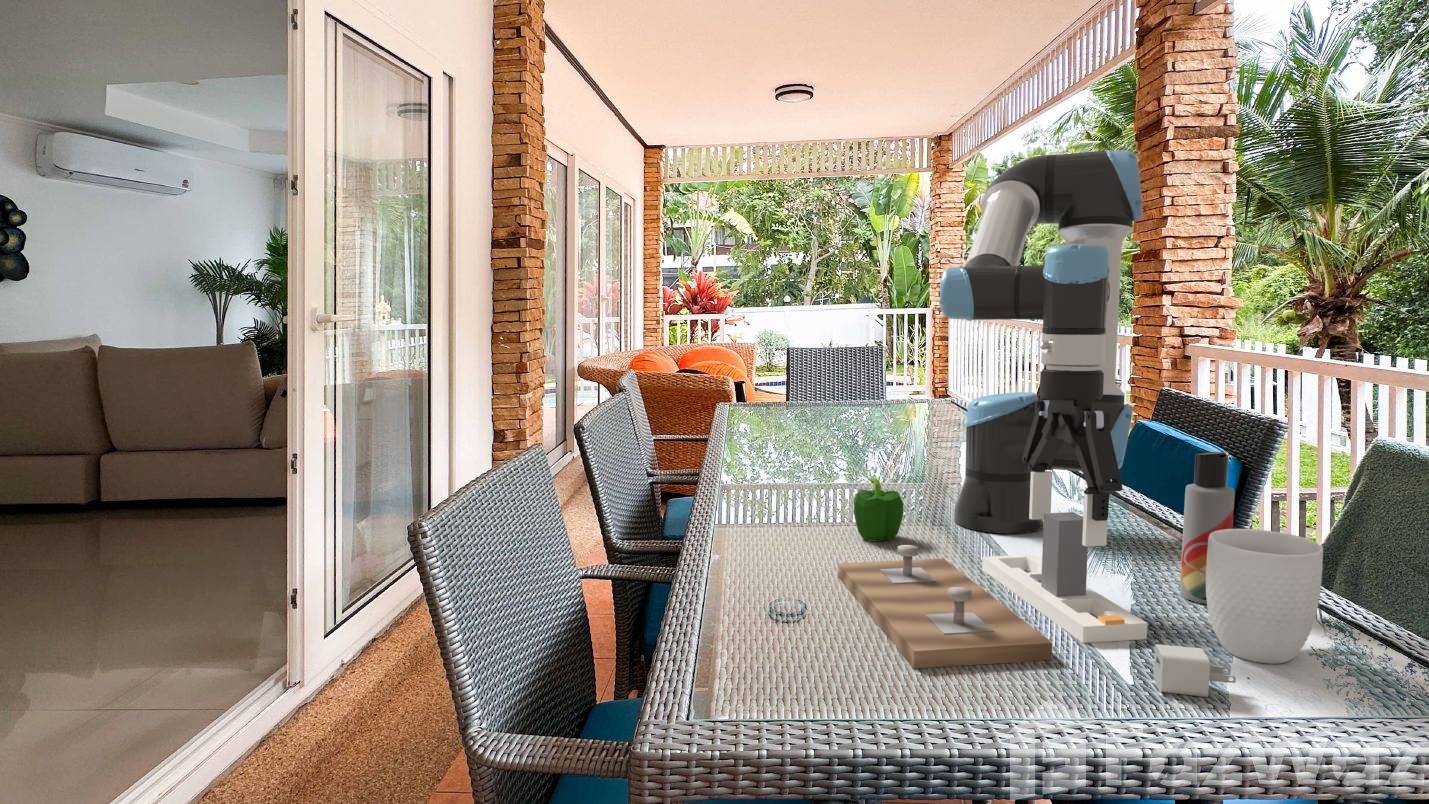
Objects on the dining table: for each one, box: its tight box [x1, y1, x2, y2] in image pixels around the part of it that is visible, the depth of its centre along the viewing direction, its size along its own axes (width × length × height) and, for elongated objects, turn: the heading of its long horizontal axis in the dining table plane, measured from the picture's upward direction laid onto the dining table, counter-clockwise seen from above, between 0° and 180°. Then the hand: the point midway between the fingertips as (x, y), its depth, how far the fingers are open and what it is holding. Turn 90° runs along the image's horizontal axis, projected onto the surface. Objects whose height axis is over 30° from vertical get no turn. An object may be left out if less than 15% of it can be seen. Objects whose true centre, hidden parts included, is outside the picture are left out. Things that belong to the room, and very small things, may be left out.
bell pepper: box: [853, 477, 904, 542], centre depth 147 cm, size 8×8×10 cm
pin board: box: [837, 544, 1053, 669], centre depth 112 cm, size 32×16×6 cm, turn 7°
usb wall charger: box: [1153, 643, 1237, 698], centre depth 90 cm, size 4×7×4 cm, turn 73°
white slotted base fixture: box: [981, 511, 1148, 644], centre depth 116 cm, size 28×8×12 cm, turn 7°
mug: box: [1206, 528, 1324, 665], centre depth 99 cm, size 15×11×13 cm
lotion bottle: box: [1179, 451, 1236, 605], centre depth 116 cm, size 6×6×20 cm
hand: (1065, 531), depth 113 cm, fingers open, 13 cm apart
